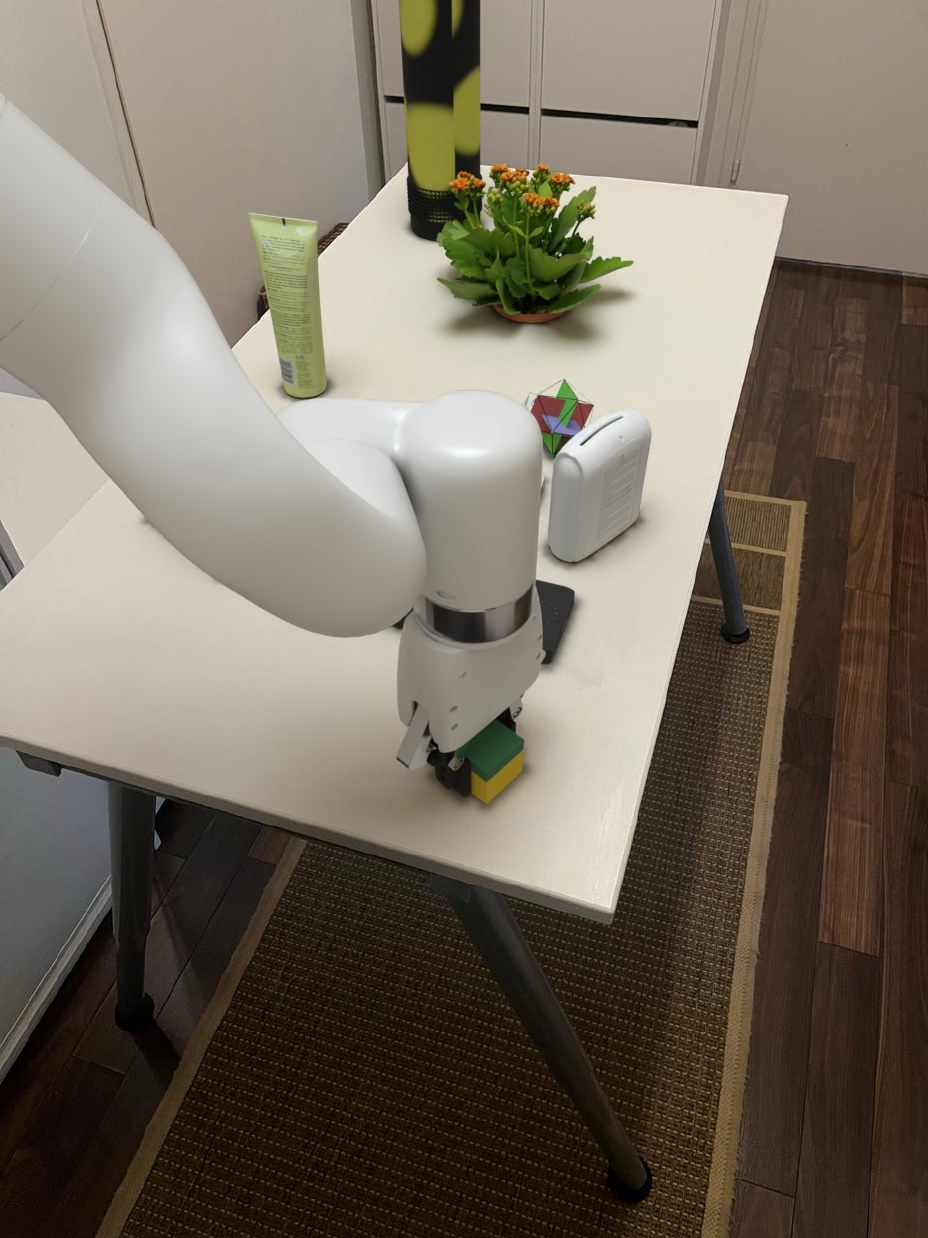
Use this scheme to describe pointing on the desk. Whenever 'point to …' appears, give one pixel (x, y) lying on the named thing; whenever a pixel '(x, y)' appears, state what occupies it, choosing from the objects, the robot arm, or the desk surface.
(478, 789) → the sponge
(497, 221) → the potted flower
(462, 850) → the desk surface
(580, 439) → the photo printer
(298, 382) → the tube
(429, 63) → the container
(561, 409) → the geometric puzzle
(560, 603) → the smart home device
